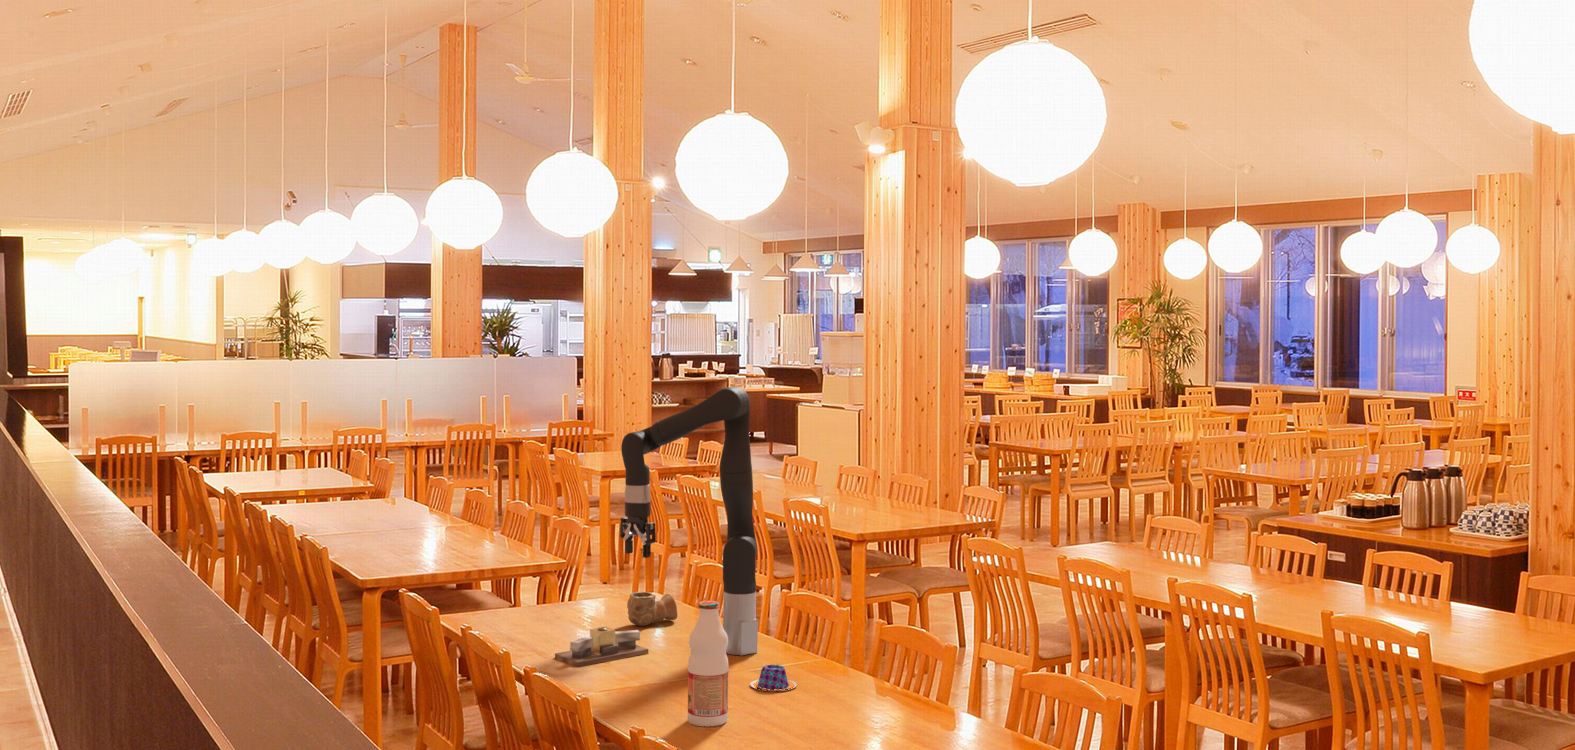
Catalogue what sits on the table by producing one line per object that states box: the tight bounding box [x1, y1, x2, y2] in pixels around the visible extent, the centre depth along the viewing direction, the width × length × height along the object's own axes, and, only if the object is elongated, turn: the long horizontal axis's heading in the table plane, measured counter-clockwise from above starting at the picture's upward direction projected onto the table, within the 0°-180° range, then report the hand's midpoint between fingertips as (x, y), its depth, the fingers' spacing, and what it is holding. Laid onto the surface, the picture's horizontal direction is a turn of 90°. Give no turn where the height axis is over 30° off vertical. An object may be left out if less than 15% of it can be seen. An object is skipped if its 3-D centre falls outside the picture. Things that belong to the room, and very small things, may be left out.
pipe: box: [626, 591, 678, 627], centre depth 393 cm, size 9×16×10 cm, turn 132°
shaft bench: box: [554, 629, 649, 668], centre depth 355 cm, size 12×23×6 cm, turn 131°
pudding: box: [749, 664, 797, 692], centre depth 328 cm, size 12×12×5 cm
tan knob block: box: [589, 626, 616, 654], centre depth 355 cm, size 5×5×6 cm
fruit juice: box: [687, 600, 729, 728], centre depth 297 cm, size 9×9×28 cm
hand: (637, 555), depth 371 cm, fingers open, 8 cm apart
